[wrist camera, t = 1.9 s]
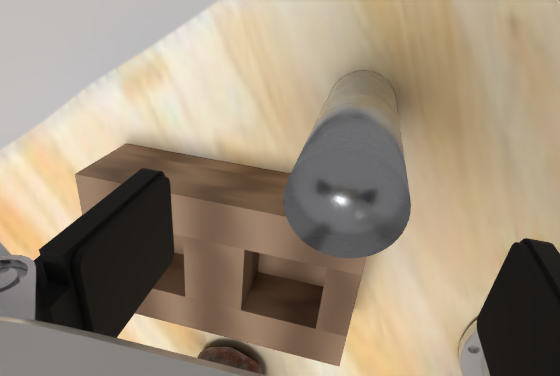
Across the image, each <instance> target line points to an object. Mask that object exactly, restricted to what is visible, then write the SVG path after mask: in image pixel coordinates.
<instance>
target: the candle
mask: <svg viewBox="0 0 560 376" xmlns="http://www.w3.org/2000/svg"><path fill="white" fill-rule="evenodd" d="M198 358H199V359H203V360H207V361H211V362H215V363H219V364H223V365H227V366H231V367H234V368H238V369H242V370H246V371H250V372H254V373H258V374H262V375H263V372H262V369H261V367H260V366H259V365H258V363H257V362H256V361H254V360H252V359H250V358H249V357H247V356H246V355H244V354H242V353H241V352H239V351H237V350H235V349H233V348H231V347H226V346H225V347H209V348H207V349H205V350H204V351H202V352H201V353H200V354H199V356H198Z"/></svg>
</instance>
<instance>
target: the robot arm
mask: <svg viewBox="0 0 560 376" xmlns="http://www.w3.org/2000/svg"><path fill="white" fill-rule="evenodd" d="M39 251H40V256H39V257H38V258H36V259H35V260H34V261H32V260H31V259H30V258H28V257H25V256H22V255H6V256H0V376H266V375H262V374H258V373H254V372H250V371H246V370H242V369H238V368H234V367H231V366H227V365H223V364H219V363H215V362H211V361H207V360H203V359H199V358H195V357H191V356H187V355H183V354H179V353H175V352H171V351H167V350H163V349H159V348H155V347H151V346H147V345H143V344H139V343H135V342H131V341H127V340H123V339H119V338H117V337H118V335H119V334H120V332H121V331H122V330H123V328H124V327H125V326H126V324H127V323H128V321H129V320H130V319H131V317H132V316H133V315H134V313H135V312H136V310H137V309H138V308H139V306H140V305H141V304H142V302H143V301H144V299H145V298H146V297H147V295H148V294H149V293H150V291H151V290H152V289H153V287H154V286H155V284H156V283H157V282H158V280H159V279H160V278H161V276H162V275H163V273H164V272H165V271H166V269H167V268H168V267H169V265H170V264H171V262H172V260H173V257H174V236H173V220H172V204H171V187H170V180H169V178H168V177H165V174H164V173H163V172H162V171H158V170H152V169H147V168H142V169H140V170H139V171H138V172H136V173H135V174H134V175H132V176H131V177H130V178H129V179H127V180H126V181H125V182H124V183H122V184H121V185H120V186H119V187H117V188H116V189H115V190H114V191H112V192H111V193H110V194H109V195H107V196H106V197H105V198H104V199H102V200H101V201H100V202H98V203H97V204H96V205H95V206H93V207H92V208H91V209H90V210H88V211H87V212H86V213H85V214H83V215H82V216H81V217H80V218H78V219H77V220H76V221H75V222H73V223H72V224H71V225H69V226H68V227H67V228H66V229H64V230H63V231H62V232H61V233H59V234H58V235H57V236H56V237H54V238H53V239H52V240H51V241H49V242H48V243H47V244H46V245H44V246H43V247H42V248H41V249H39ZM458 355H459V364H460V368H461V372H462V375H463V376H560V254H559V252H558V251H557V249H556V248H555V246H554V245H553V244H552V243H549V242H543V241H538V240H533V239H527V238H525V239H523V240H522V241H521V242H520V243H518V242H516V243H514V244H513V245H512V246H511V248H510V250H509V253H508V255H507V257H506V259H505V261H504V263H503V265H502V267H501V269H500V271H499V274H498V276H497V278H496V280H495V282H494V284H493V286H492V288H491V290H490V292H489V295H488V297H487V299H486V301H485V303H484V305H483V307H482V309H481V311H480V313H479V316H478V318H477V320H476V321H474V322H473V324H472V325H471V326H470V327H469V328H468V329H467V330H466V332H465V333H464V335H463V337H462V339H461V341H460V345H459V350H458Z"/></svg>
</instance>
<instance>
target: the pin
mask: <svg viewBox="0 0 560 376" xmlns="http://www.w3.org/2000/svg"><path fill="white" fill-rule="evenodd" d="M283 205H284V211H285V215H286V218H287V220H288V223H289V224H290V226H291V228H292V229H293V231H294V232H295V233H296V235H297V236H298V237H299V238H300V239H301V240H302V241H304V242H305V243H306V244H307V245H309V246H310V247H312V248H313V249H315V250H317V251H319V252H322V253H324V254H327V255H330V256H334V257H340V258H361V257H366V256H370V255H373V254H376V253H378V252H380V251H382V250H384V249H386V248H387V247H389V246H390V245H391V244H393V243H394V242H395V241H396V240H397V239H398V238H399V236H400V235H401V234H402V233H403V231H404V229H405V227H406V225H407V223H408V220H409V216H410V209H411V203H410V194H409V187H408V180H407V173H406V166H405V160H404V153H403V146H402V139H401V132H400V125H399V118H398V111H397V104H396V97H395V93H394V90H393V88H392V86H391V85H390V83H389V82H388V81H387V80H386V79H385V78H384V77H382V76H381V75H379V74H377V73H374V72H371V71H356V72H352V73H350V74H348V75H346V76H344V77H343V78H341V79H340V80H339V81H338V82H337V83H336V84H335V86H334V87H333V89H332V91H331V93H330V95H329V97H328V99H327V101H326V103H325V105H324V107H323V109H322V111H321V113H320V115H319V117H318V119H317V121H316V123H315V126H314V128H313V130H312V132H311V134H310V136H309V138H308V140H307V142H306V144H305V146H304V148H303V150H302V152H301V154H300V156H299V158H298V160H297V162H296V164H295V166H294V168H293V170H292V172H291V174H290V176H289V179H288V181H287V183H286V186H285V189H284V195H283Z"/></svg>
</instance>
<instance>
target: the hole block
mask: <svg viewBox="0 0 560 376" xmlns="http://www.w3.org/2000/svg"><path fill="white" fill-rule="evenodd" d="M142 168H147V169H152V170H158V171H162V172H163V173H164V174H165V177H168V178H169V180H170V187H171V204H172V220H173V236H174V257H173V260H172V262H171V264H170V265H169V267H168V268H167V269H166V271H165V272H164V273H163V275H162V276H161V278H160V279H159V280H158V282H157V283H156V284H155V286H154V287H153V289H152V290H151V291H150V293H149V294H148V295H147V297H146V298H145V299H144V301H143V302H142V304H141V305H140V306H139V308H138V309H137V310H136V312H135V313H136V314H140V315H144V316H147V317H151V318H155V319H159V320H163V321H167V322H170V323H174V324H178V325H182V326H186V327H190V328H194V329H197V330H201V331H205V332H209V333H213V334H217V335H220V336H224V337H228V338H232V339H236V340H240V341H244V342H247V343H251V344H255V345H259V346H263V347H267V348H270V349H274V350H278V351H282V352H286V353H290V354H293V355H297V356H301V357H305V358H309V359H313V360H317V361H320V362H324V363H328V364H332V365H336V366H339V365H340V361H341V357H342V353H343V349H344V345H345V341H346V337H347V333H348V329H349V324H350V320H351V316H352V312H353V308H354V304H355V300H356V296H357V292H358V288H359V284H360V280H361V276H362V272H363V268H364V264H365V259H366V257H361V258H340V257H334V256H330V255H327V254H324V253H322V252H319V251H317V250H315V249H313V248H312V247H310V246H309V245H307V244H306V243H305V242H304V241H302V240H301V239H300V238H299V237H298V236H297V235H296V233H295V232H294V231H293V229H292V228H291V226H290V224H289V223H288V220H287V218H286V215H285V211H284V205H283V195H284V189H285V186H286V183H287V181H288V179H289V176H290V174H288V173H283V172H277V171H272V170H266V169H261V168H255V167H250V166H244V165H239V164H233V163H228V162H223V161H217V160H212V159H206V158H201V157H195V156H190V155H184V154H179V153H173V152H168V151H163V150H157V149H152V148H146V147H141V146H135V145H130V144H125V145H123V146H121V147H120V148H118V149H116V150H115V151H113V152H111V153H110V154H108V155H106V156H105V157H103V158H101V159H100V160H98V161H96V162H95V163H93V164H91V165H89V166H88V167H86V168H84V169H83V170H81V171H79V172H78V173H76V174H75V177H76V182H77V188H78V193H79V199H80V204H81V210H82V215H83V214H85V213H86V212H87V211H88V210H90V209H91V208H92V207H93V206H95V205H96V204H97V203H98V202H100V201H101V200H102V199H104V198H105V197H106V196H107V195H109V194H110V193H111V192H112V191H114V190H115V189H116V188H117V187H119V186H120V185H121V184H122V183H124V182H125V181H126V180H127V179H129V178H130V177H131V176H132V175H134V174H135V173H136V172H138V171H139V170H140V169H142Z"/></svg>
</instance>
